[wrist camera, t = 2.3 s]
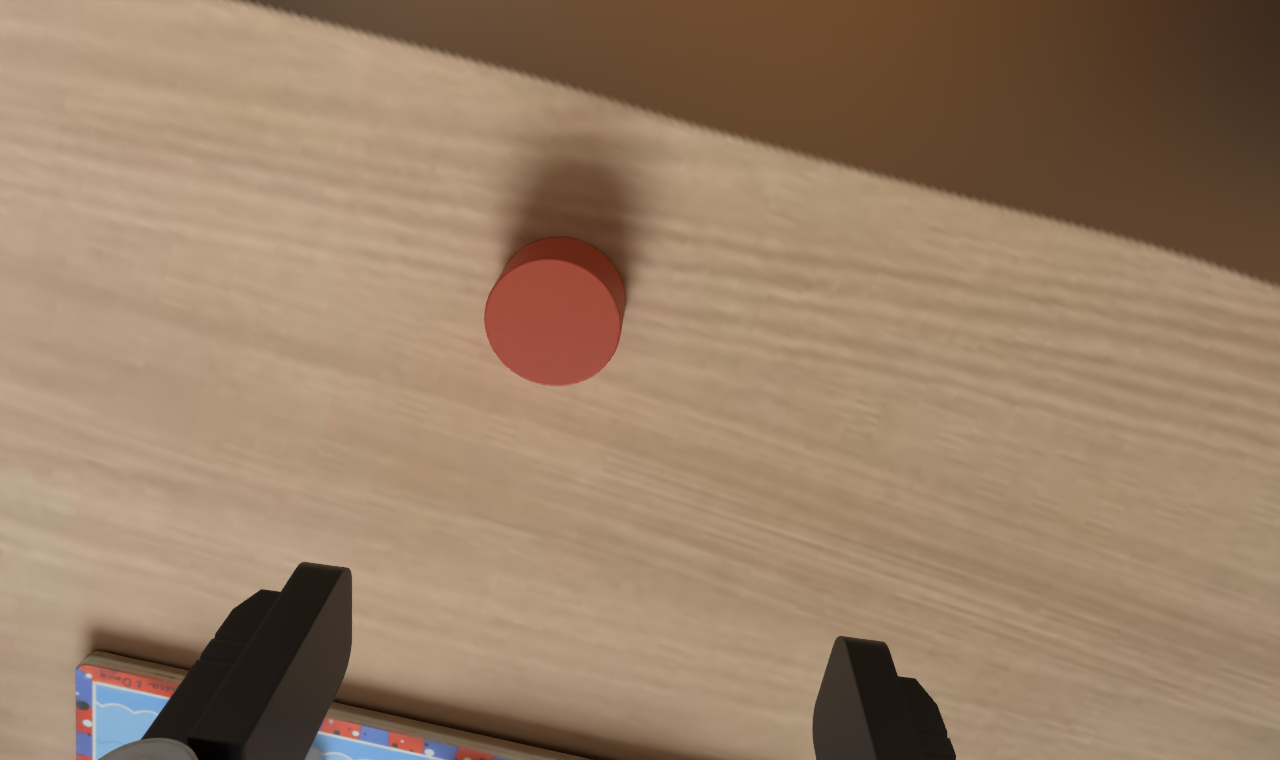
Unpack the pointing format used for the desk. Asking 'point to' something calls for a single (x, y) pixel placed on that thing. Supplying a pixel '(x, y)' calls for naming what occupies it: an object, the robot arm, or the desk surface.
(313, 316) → the desk surface
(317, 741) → the puzzle board
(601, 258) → the cylinder
